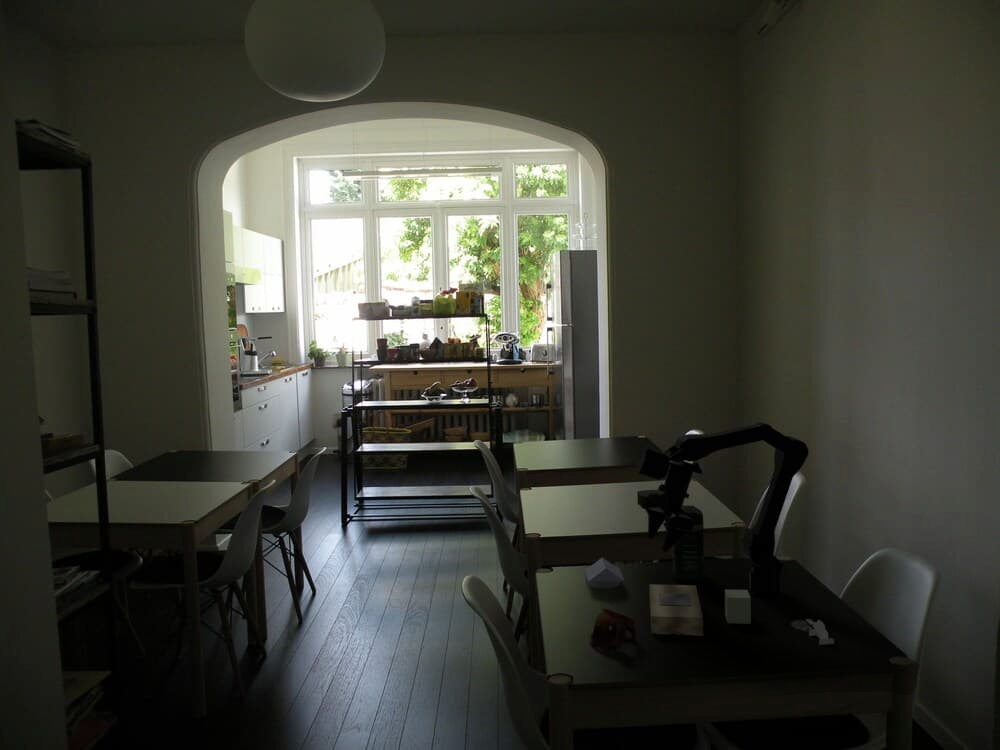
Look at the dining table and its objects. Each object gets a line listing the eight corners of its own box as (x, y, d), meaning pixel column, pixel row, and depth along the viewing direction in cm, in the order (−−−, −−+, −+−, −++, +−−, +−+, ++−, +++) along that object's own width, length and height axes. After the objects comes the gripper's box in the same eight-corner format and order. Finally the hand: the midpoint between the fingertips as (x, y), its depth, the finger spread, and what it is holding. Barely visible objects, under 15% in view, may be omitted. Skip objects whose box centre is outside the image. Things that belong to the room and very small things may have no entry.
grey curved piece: (845, 647, 166) (845, 627, 165) (814, 649, 165) (814, 628, 165) (811, 619, 181) (811, 600, 180) (783, 621, 180) (783, 602, 180)
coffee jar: (706, 583, 205) (705, 512, 203) (674, 582, 206) (673, 512, 204) (701, 570, 214) (700, 502, 213) (671, 570, 215) (670, 502, 214)
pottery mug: (581, 640, 174) (594, 603, 176) (619, 655, 175) (632, 619, 177) (599, 648, 162) (612, 609, 164) (640, 665, 163) (653, 626, 165)
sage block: (747, 615, 183) (747, 590, 183) (750, 624, 178) (750, 598, 178) (725, 614, 184) (724, 589, 183) (727, 623, 179) (727, 597, 179)
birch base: (695, 601, 192) (695, 584, 192) (703, 635, 173) (703, 616, 172) (649, 600, 194) (649, 583, 194) (651, 633, 175) (651, 615, 174)
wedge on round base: (624, 593, 199) (617, 576, 212) (623, 567, 199) (617, 551, 212) (588, 594, 200) (584, 577, 212) (587, 568, 199) (583, 552, 212)
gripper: (633, 467, 202) (614, 525, 204) (661, 488, 184) (641, 551, 185) (672, 478, 205) (653, 534, 206) (704, 499, 187) (683, 561, 188)
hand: (656, 544), depth 196 cm, fingers open, 9 cm apart
